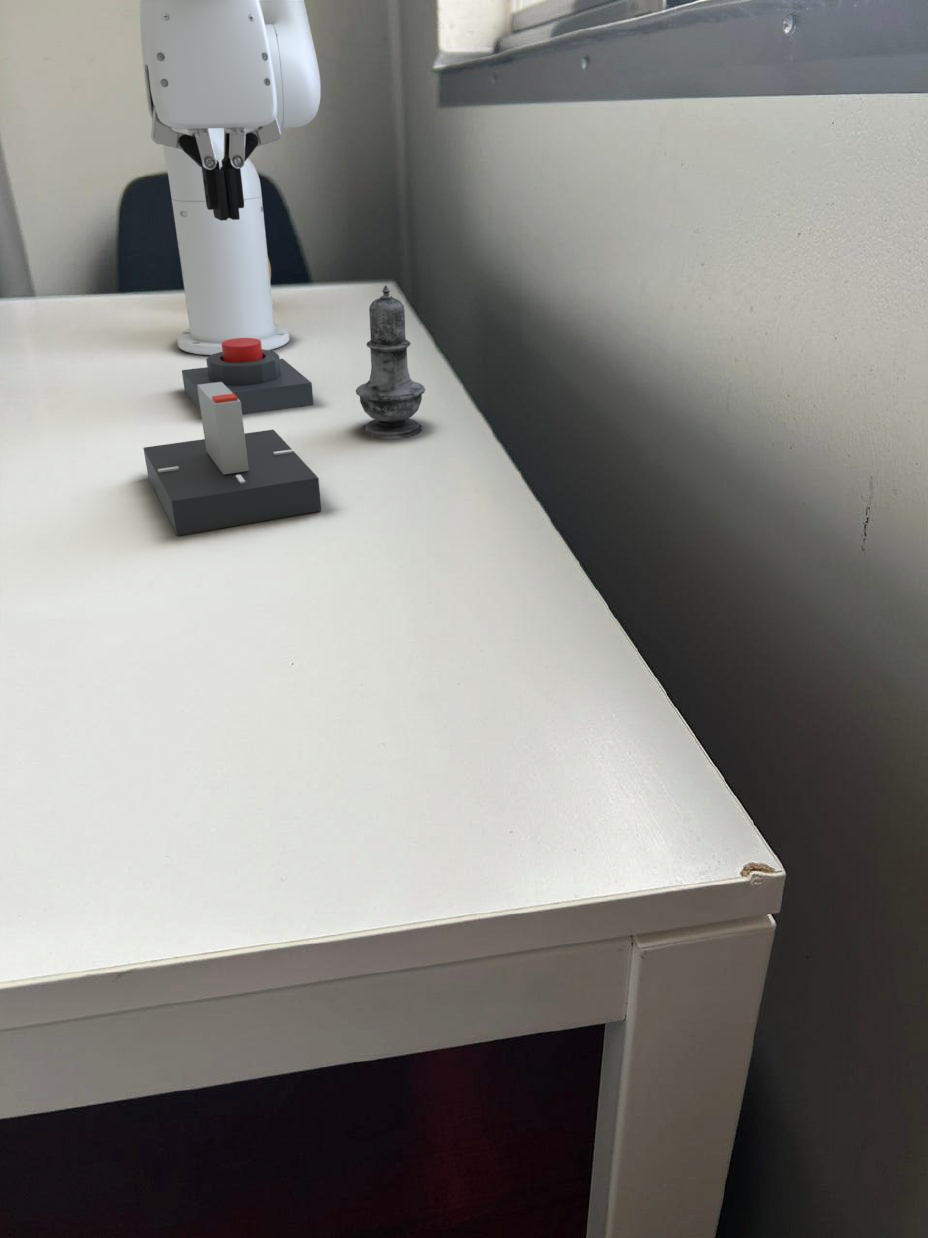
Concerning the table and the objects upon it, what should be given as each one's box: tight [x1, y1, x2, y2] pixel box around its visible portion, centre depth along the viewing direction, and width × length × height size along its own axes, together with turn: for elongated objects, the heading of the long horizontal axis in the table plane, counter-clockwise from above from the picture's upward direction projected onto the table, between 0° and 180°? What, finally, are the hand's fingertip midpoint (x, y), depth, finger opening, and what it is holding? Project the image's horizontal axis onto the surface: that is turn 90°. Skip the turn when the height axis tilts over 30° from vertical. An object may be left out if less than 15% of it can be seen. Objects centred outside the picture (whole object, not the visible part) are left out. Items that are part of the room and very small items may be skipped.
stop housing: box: [181, 349, 314, 416], centre depth 93 cm, size 10×10×4 cm
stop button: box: [222, 338, 263, 363], centre depth 92 cm, size 4×4×2 cm
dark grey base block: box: [143, 429, 322, 537], centre depth 72 cm, size 12×10×3 cm
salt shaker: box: [355, 285, 426, 440], centre depth 82 cm, size 6×6×12 cm
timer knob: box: [197, 382, 249, 475], centre depth 70 cm, size 6×2×5 cm, turn 25°
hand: (226, 217), depth 86 cm, fingers closed
